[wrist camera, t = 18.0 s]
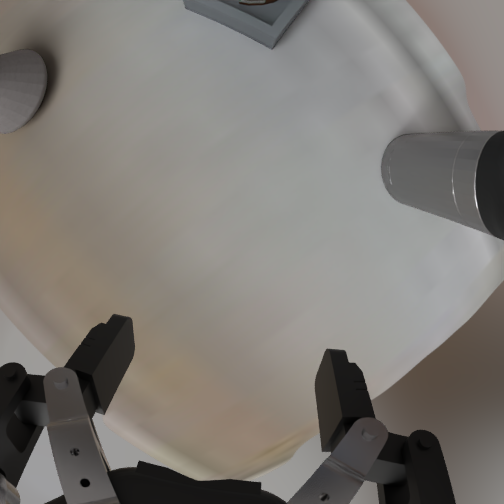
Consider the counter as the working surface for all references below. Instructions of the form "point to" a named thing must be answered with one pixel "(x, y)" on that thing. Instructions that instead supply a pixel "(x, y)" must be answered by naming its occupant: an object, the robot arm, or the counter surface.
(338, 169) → the counter surface
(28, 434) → the robot arm
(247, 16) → the tray
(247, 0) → the food container
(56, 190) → the counter surface
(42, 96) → the coffee pot
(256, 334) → the counter surface
